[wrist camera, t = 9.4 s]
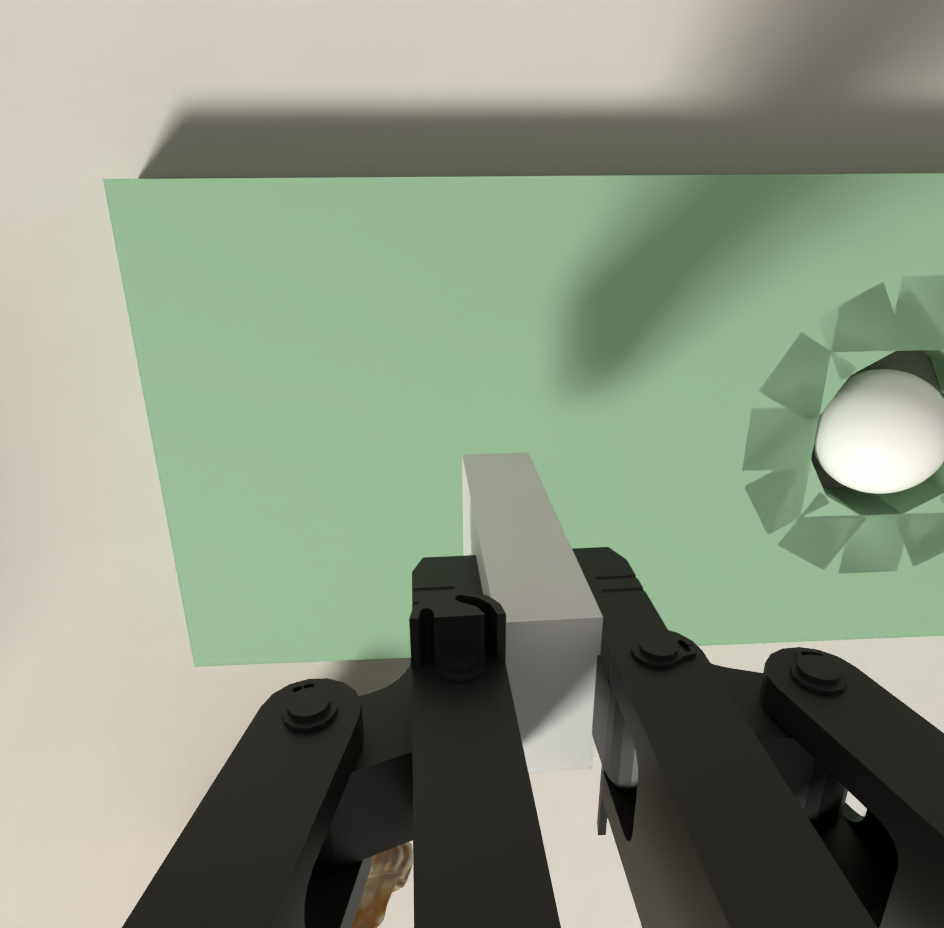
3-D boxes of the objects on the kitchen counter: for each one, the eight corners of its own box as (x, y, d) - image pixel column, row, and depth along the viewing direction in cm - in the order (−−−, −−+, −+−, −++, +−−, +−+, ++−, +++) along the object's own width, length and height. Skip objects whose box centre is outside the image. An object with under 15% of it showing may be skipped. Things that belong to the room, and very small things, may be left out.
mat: (213, 628, 24) (194, 666, 22) (135, 179, 18) (102, 179, 16) (1011, 597, 25) (1058, 630, 23) (1149, 172, 20) (1224, 170, 18)
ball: (941, 526, 19) (932, 473, 22) (976, 398, 17) (961, 360, 20) (795, 501, 20) (805, 455, 23) (816, 383, 19) (823, 349, 22)
